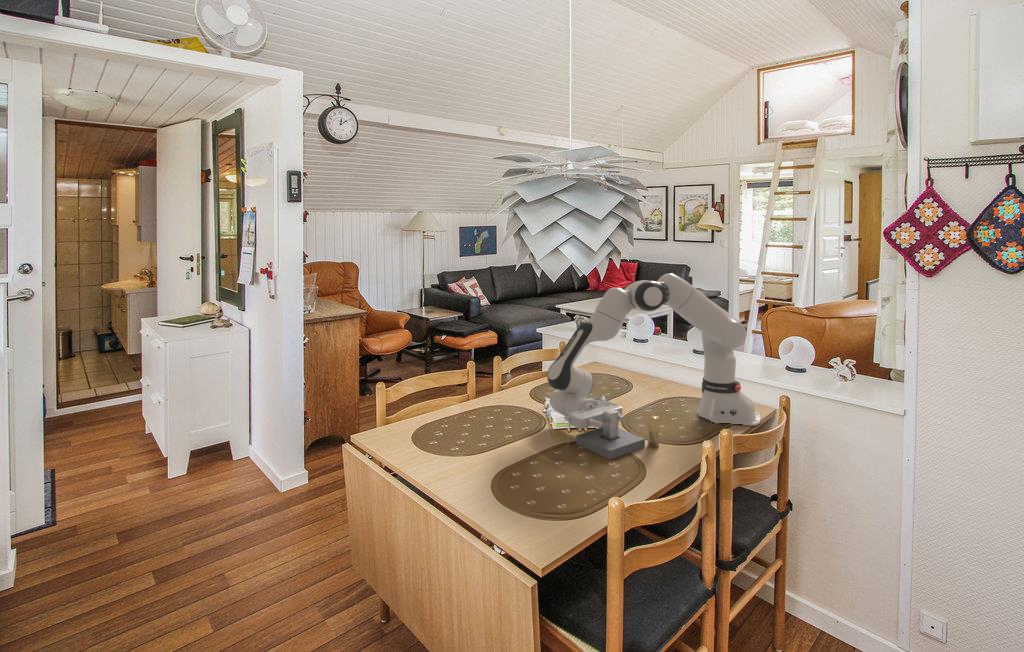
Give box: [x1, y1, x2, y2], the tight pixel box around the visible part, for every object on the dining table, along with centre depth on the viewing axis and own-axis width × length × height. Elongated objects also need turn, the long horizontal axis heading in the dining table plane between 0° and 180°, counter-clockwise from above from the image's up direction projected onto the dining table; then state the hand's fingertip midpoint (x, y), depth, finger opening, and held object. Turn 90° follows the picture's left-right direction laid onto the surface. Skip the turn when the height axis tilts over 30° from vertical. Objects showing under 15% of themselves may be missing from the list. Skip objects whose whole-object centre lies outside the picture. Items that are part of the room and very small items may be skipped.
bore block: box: [575, 427, 646, 460], centre depth 189 cm, size 16×16×3 cm
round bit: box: [647, 415, 661, 449], centre depth 188 cm, size 4×4×10 cm
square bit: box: [603, 409, 619, 441], centre depth 189 cm, size 4×4×12 cm
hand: (612, 422), depth 187 cm, fingers open, 8 cm apart
